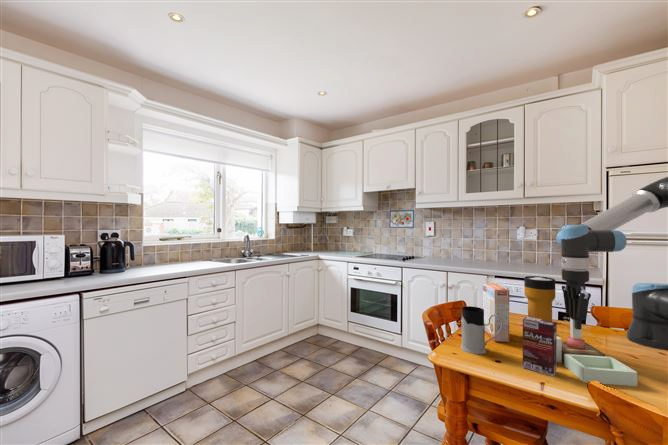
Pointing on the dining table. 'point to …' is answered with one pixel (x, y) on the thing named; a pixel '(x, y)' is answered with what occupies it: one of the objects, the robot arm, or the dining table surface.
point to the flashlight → (539, 296)
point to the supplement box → (539, 345)
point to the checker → (580, 351)
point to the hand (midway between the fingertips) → (576, 337)
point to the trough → (600, 369)
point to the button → (575, 343)
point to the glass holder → (474, 330)
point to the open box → (559, 350)
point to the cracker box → (496, 311)
